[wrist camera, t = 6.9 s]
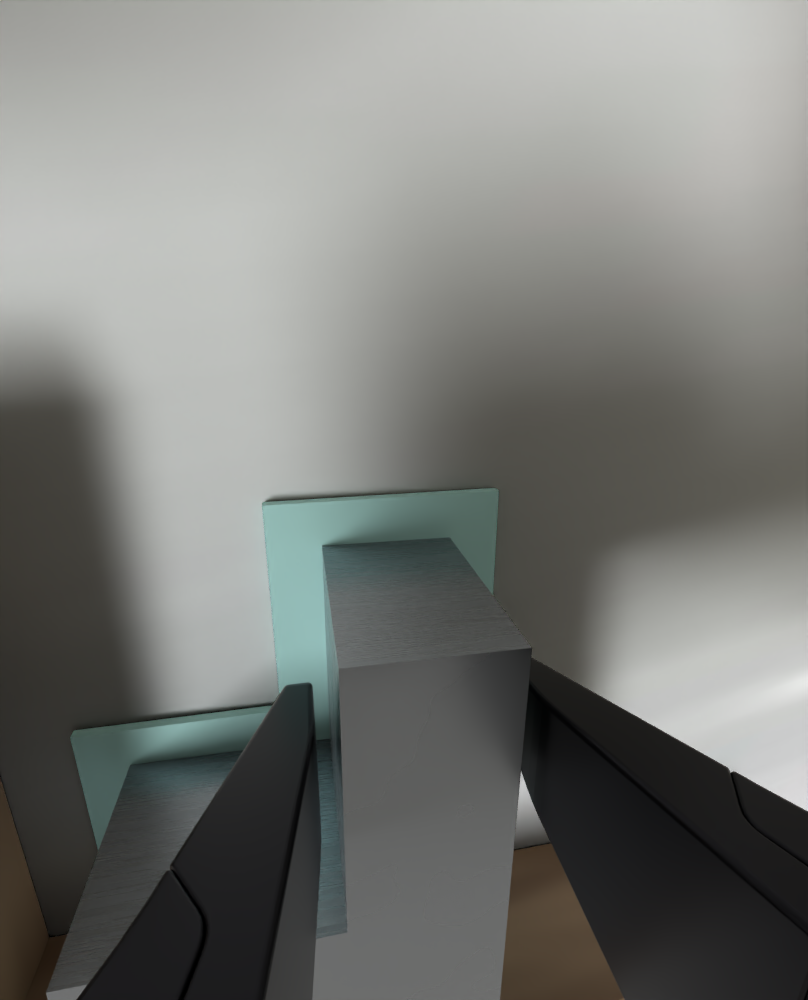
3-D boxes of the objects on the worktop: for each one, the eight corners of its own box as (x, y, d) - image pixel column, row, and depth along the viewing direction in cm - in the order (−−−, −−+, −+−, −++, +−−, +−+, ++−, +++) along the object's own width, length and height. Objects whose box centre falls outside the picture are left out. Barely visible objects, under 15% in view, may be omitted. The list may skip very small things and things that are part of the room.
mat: (476, 828, 14) (479, 835, 13) (113, 893, 12) (110, 901, 12) (495, 487, 11) (498, 490, 11) (21, 516, 9) (16, 520, 9)
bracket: (438, 810, 13) (499, 1008, 9) (146, 858, 12) (78, 1107, 8) (448, 536, 11) (532, 647, 7) (92, 559, 10) (-36, 709, 6)
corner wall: (-220, 438, 8) (-553, 517, 5) (686, 405, 11) (850, 443, 8) (-9, 996, 12) (-116, 1237, 9) (610, 871, 15) (696, 1022, 12)
